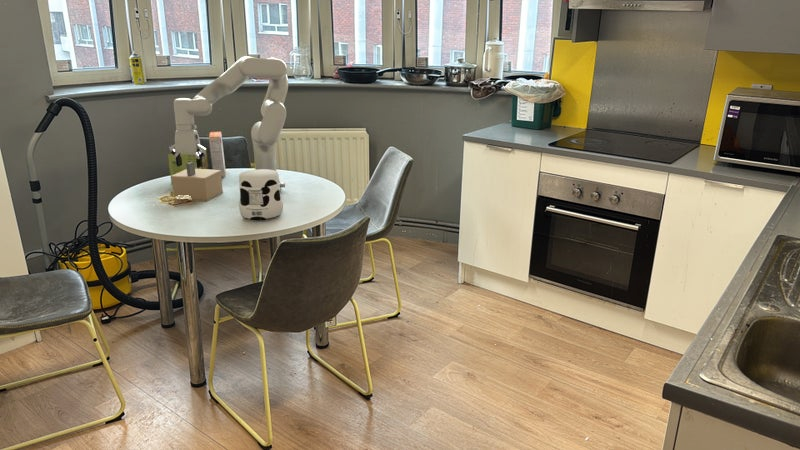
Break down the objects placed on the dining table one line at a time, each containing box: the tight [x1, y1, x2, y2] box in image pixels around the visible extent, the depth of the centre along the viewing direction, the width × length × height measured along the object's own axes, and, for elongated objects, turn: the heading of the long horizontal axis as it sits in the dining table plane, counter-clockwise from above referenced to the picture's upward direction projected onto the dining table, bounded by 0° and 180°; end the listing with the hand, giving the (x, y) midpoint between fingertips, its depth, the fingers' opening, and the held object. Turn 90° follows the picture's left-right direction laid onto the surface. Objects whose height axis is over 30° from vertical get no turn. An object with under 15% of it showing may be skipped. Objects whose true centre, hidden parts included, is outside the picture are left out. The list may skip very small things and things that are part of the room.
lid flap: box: [170, 162, 221, 179], centre depth 270 cm, size 16×14×6 cm
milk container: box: [238, 169, 284, 222], centre depth 243 cm, size 17×17×18 cm
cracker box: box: [208, 131, 226, 178], centre depth 308 cm, size 14×6×21 cm, turn 14°
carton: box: [171, 172, 224, 202], centre depth 273 cm, size 16×14×10 cm
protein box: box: [167, 149, 209, 186], centre depth 294 cm, size 10×15×16 cm
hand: (189, 166), depth 266 cm, fingers open, 9 cm apart
